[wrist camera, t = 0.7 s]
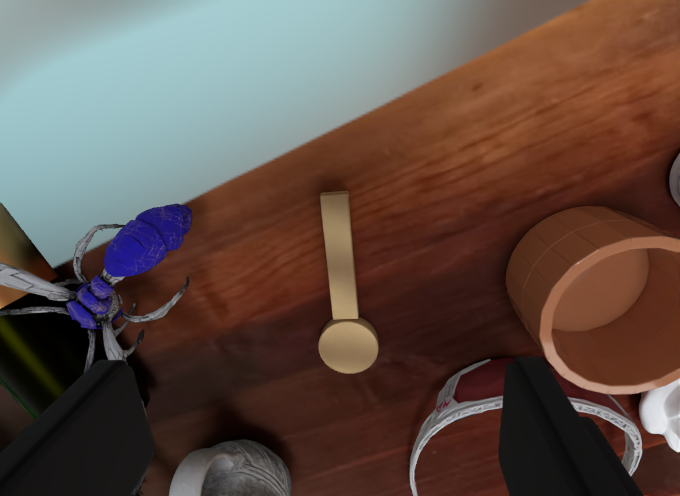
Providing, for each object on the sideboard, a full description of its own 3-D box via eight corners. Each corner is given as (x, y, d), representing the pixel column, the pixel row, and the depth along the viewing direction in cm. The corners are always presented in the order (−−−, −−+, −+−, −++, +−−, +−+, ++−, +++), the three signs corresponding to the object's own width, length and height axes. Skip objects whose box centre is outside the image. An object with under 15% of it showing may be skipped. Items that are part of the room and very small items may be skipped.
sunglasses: (651, 361, 32) (692, 415, 28) (575, 485, 41) (597, 541, 36) (428, 336, 33) (435, 385, 29) (400, 462, 42) (401, 515, 37)
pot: (508, 210, 29) (546, 242, 23) (665, 200, 28) (753, 230, 22) (502, 337, 33) (534, 396, 26) (642, 332, 32) (712, 393, 25)
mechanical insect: (43, 219, 35) (-202, 326, 22) (102, 95, 28) (-203, 145, 15) (212, 363, 37) (80, 533, 25) (304, 281, 31) (187, 458, 18)
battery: (165, 399, 34) (2, 188, 29) (82, 473, 30) (-129, 238, 24) (136, 391, 39) (-7, 210, 34) (62, 453, 35) (-117, 254, 30)
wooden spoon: (302, 193, 30) (299, 197, 29) (367, 189, 30) (367, 192, 29) (323, 365, 35) (321, 374, 34) (379, 364, 35) (379, 372, 33)
